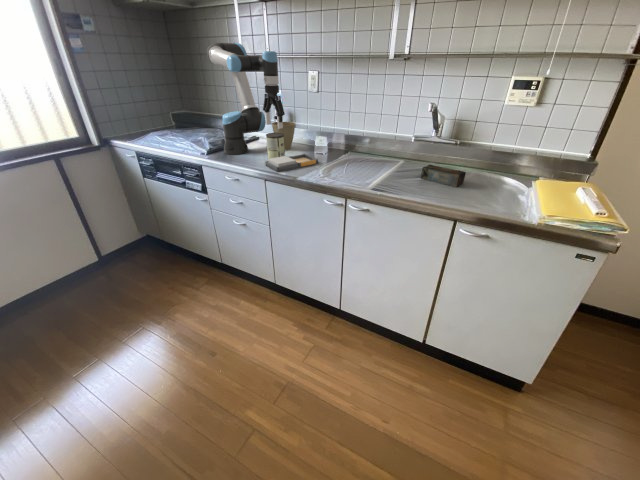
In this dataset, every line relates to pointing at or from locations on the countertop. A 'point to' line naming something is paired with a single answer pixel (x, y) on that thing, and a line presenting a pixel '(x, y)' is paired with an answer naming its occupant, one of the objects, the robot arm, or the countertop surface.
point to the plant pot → (285, 132)
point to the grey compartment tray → (290, 162)
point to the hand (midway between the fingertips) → (274, 126)
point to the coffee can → (275, 145)
